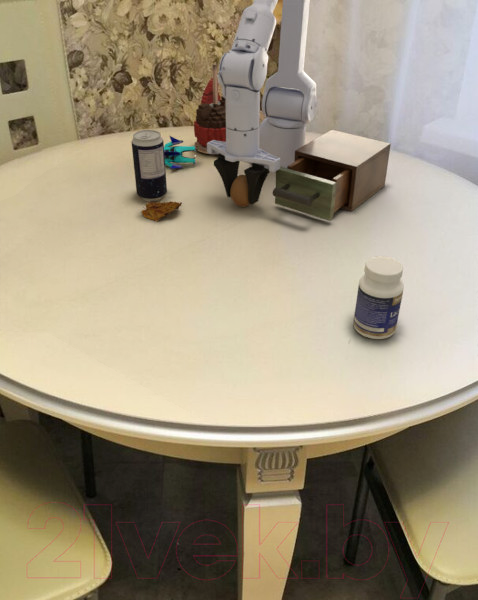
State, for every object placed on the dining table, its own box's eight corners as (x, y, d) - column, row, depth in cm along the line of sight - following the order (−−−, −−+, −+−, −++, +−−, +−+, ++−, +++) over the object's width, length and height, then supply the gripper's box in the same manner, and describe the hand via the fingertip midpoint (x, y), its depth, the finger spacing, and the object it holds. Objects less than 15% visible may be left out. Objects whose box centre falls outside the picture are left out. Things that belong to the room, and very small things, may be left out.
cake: (217, 161, 130) (214, 73, 120) (184, 151, 135) (179, 66, 125) (248, 146, 137) (248, 62, 127) (216, 137, 142) (214, 55, 132)
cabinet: (351, 211, 111) (356, 166, 106) (292, 193, 117) (294, 150, 112) (384, 186, 120) (391, 143, 115) (328, 170, 126) (331, 129, 121)
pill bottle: (395, 343, 81) (407, 279, 75) (351, 338, 81) (360, 274, 76) (395, 317, 85) (407, 255, 79) (354, 312, 86) (362, 251, 80)
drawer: (317, 230, 104) (320, 193, 100) (261, 212, 109) (262, 176, 105) (363, 195, 115) (367, 161, 111) (310, 180, 120) (312, 147, 116)
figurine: (197, 139, 129) (140, 140, 130) (193, 135, 123) (134, 135, 124) (197, 171, 129) (141, 172, 130) (193, 168, 124) (134, 168, 124)
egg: (225, 206, 113) (225, 176, 110) (240, 198, 116) (240, 168, 112) (244, 213, 111) (245, 182, 107) (259, 204, 114) (260, 174, 110)
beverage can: (172, 192, 118) (168, 131, 111) (159, 204, 114) (154, 142, 107) (145, 188, 119) (139, 127, 113) (131, 200, 115) (125, 138, 108)
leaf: (158, 202, 115) (156, 194, 114) (188, 206, 112) (186, 198, 111) (137, 219, 111) (135, 211, 110) (168, 224, 107) (166, 216, 106)
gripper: (194, 123, 106) (197, 195, 113) (264, 141, 99) (262, 217, 106) (220, 112, 110) (221, 182, 118) (288, 129, 103) (285, 203, 111)
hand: (242, 198), depth 113 cm, fingers closed on egg, 4 cm apart
